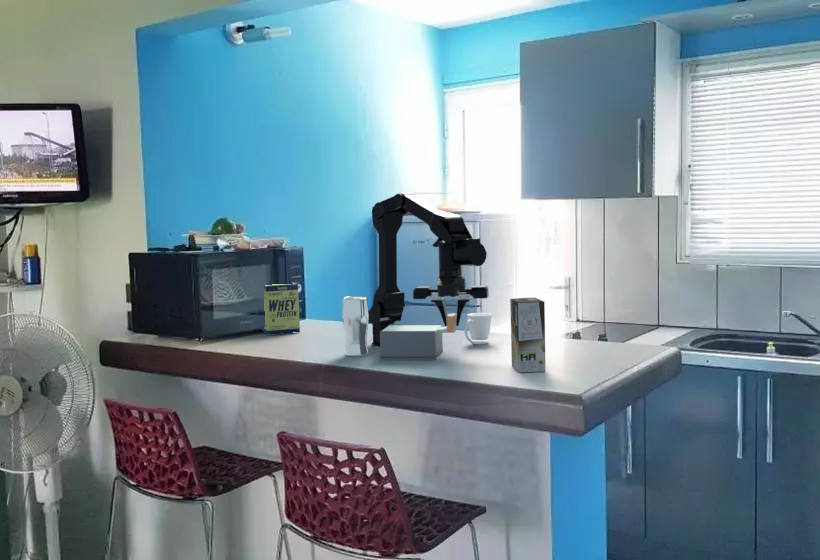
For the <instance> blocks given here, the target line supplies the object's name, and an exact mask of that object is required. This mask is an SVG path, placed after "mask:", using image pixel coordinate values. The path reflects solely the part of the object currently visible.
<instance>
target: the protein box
mask: <svg viewBox="0 0 820 560" xmlns="http://www.w3.org/2000/svg"><path fill="white" fill-rule="evenodd" d="M292 283H293V284H272V285H265V286H264V311H265V327H264V332H265V333H266V335H267V334H268V335H267V336H270V335H269V334H278V335H282V334H281V333H290V334H294V333H293V332H301V327H300V326H301V325H300V303H299V302H300V301H299V299H300V298H299V284H298V283H295V282H292ZM264 332H263V333H264ZM265 333H264V334H265Z"/></svg>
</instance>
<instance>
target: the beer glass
mask: <svg viewBox="0 0 820 560" xmlns="http://www.w3.org/2000/svg"><path fill="white" fill-rule="evenodd" d="M341 302H342V303H341V317H342V319H341V320H342V325H343V330H344V334H345V339H346V345H345V346H346V348H345V352H344V353H345V354H344V355H345V356H347V357H363V356H367V355H369V349H368V344H367V337H368V328H369V323H368V321H369V310H370V309H369V301H368V297H367V296H360V295H359V296H358V295H357V296H345V297H342V301H341Z"/></svg>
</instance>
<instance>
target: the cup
mask: <svg viewBox="0 0 820 560" xmlns="http://www.w3.org/2000/svg"><path fill="white" fill-rule="evenodd" d="M466 317H467V321H466V323H465V325H464V336H465V337H464V338H466V340H467V341H468V342H469V343H470V344H472V345H486V344H488V343H489V341H488V339H489V335H490V332H491V324H492V323H491V322H492V317H493V314H492V313H490V312H471V313H468V314H466ZM468 330H469V333H468ZM469 334H470V337H471V338H470V337H469Z"/></svg>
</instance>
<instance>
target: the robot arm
mask: <svg viewBox="0 0 820 560" xmlns="http://www.w3.org/2000/svg"><path fill="white" fill-rule="evenodd" d="M408 213H409V214H411V215H413V216H414V217H415V218H417V219H419V220H421V221H422V222H423V223H425V224H426V225H428V228H429V230H430V232H431V233H432V234H433V235H435V237H436V238H437V239H436V241H434V243H433V244H432V247H433V248H438V274H439V276H438V280H437V283H436V287H437V288H432V286H431V285H428V286H427V285H425V286H424V285H422V286H421V285H419V286H417V287H415V288H414V289H413V292H412V298H413V300H426V299H427V297H431V298H430V299H431V300H430V303H435V305H436V307H437V309H438V311H439V313H440V315H441V319H442V321H443V323H444V327H447V315H448V314H447V305H446V298H445V297H451V298H455V297H458V299H457V309H456V326H457V327H459V325H460V322H461V319H462V318H461V317H462V315H463V311H464V309H465V307H466V304H467V303H470V302H471V300H472V298H473V299H476V300H477V299H488V297H489V293H490V292H489V287H488V286H487V285H472V286H471V288H466V277H465V276H463V273H462V272H463V269H462V266H466V267H467V266H468V267H481V266H482V265H483V264H484V263H485V262H486V259H487V253H488V252H487V251H486V248H485V246H484V245H483V244H482V243H481V238H479V237H477V238H473V236H472V234H471V232H470V231H469V229H468V227H467V226H466V225H467V224H466V223H465V220H464V218H463V217H462V216H461V215H459V214H455V213H452V212H447V211H443V210H440V209H438V208H436V207H435V206H433V205H432V204H430V203H428V202H426V201H425V200H423V199H421V198H420V197H418V196H416V194H415V193H413V192H410V191H409V192H408V191H407V192H403V191H402V192H398V193H396V194H394V195H393V196H391V197H389V198H386V199H384V200H381V201H379V202H376V203H374V205H373V206H372V209H371V219H372V225H373V227H374V229H375V230H376V232H377V234H378V287H377V289H376V291H375V292H374V294H373V299H372V305H371V307H370V309H369V321H368V324H372V342H371V346H380V331H382V330H384V329H385V328H386V327H388V326H389V325H390V324H397V322H401V321H402V316H403V313H404V307H406V304H405V292H404V291H401V290H400V289H399V287H398V262H397V261H398V250H397V249H398V247H397V246H398V245H397V244H398V243H397V242H398V241H397V240H398V237H397V236H398V235H397V234H398V232H399V231H400V229H401V227H402V224H403V218H404V216H406V215H407V214H408Z"/></svg>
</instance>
